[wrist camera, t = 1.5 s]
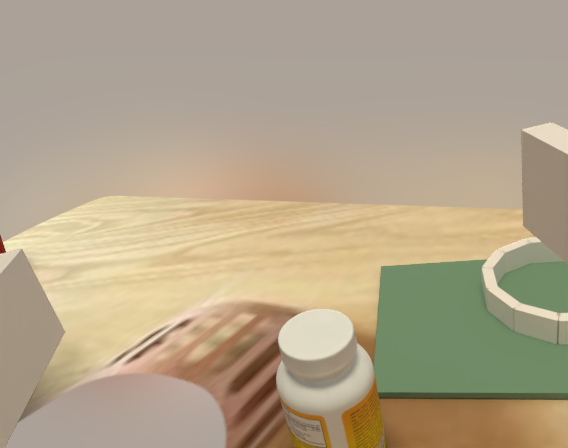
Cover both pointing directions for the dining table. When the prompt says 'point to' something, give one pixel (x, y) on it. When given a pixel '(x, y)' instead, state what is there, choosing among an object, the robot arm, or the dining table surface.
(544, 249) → the segmented ring wall
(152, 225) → the dining table surface
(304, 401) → the supplement bottle
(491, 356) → the putting mat
